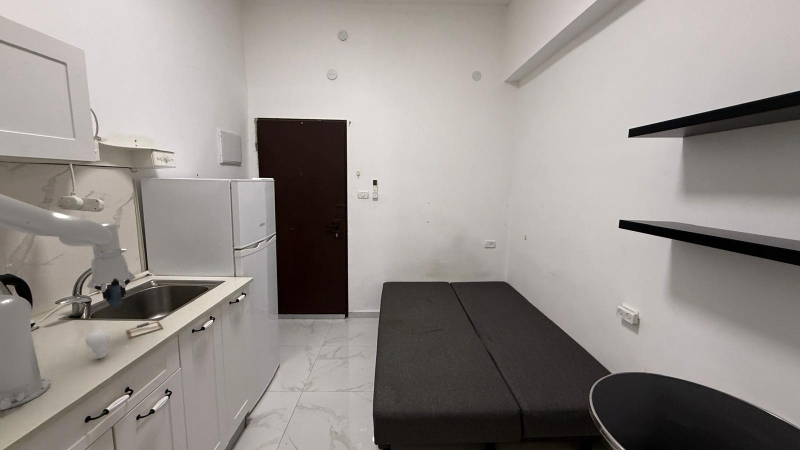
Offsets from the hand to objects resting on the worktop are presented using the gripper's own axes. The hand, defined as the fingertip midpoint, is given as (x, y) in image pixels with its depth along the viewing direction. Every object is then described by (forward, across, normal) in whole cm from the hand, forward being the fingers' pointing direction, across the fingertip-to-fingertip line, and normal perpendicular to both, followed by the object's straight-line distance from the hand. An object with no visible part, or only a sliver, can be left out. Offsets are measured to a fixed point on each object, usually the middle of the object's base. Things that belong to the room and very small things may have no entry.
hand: (115, 297), depth 117 cm
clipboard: (+17, -7, -1) cm, 19 cm away
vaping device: (+3, 0, 0) cm, 3 cm away
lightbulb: (+17, +7, +13) cm, 23 cm away
